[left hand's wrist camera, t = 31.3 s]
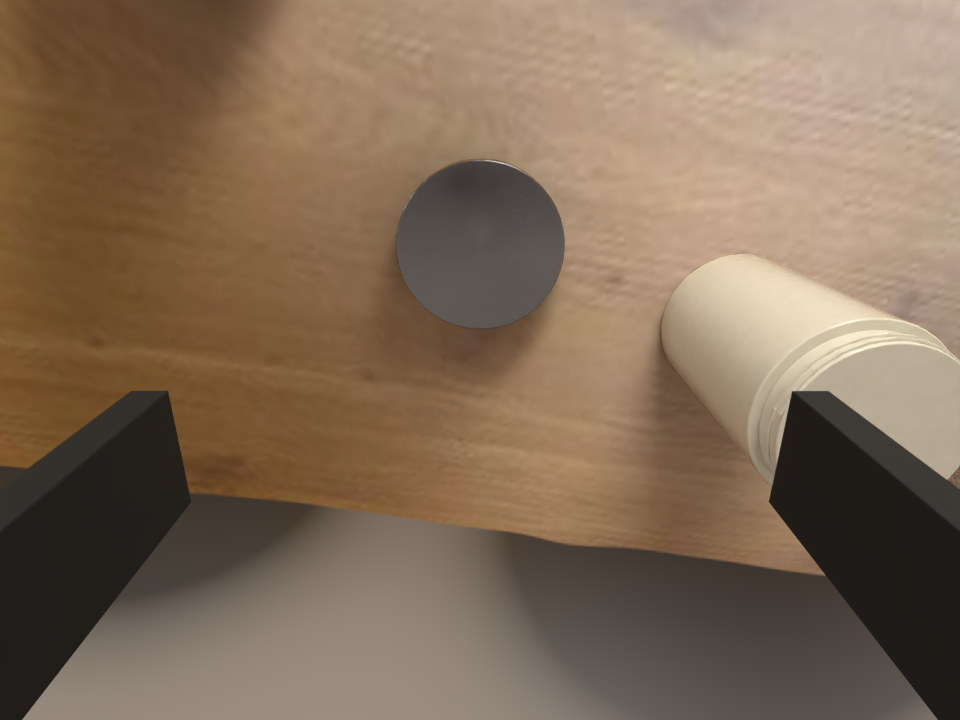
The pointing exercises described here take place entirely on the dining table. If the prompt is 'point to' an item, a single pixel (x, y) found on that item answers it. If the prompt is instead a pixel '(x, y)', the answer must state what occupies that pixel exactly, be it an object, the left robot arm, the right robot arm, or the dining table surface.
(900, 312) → the dining table surface
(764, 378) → the jar
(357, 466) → the dining table surface
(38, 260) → the dining table surface
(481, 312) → the lid
